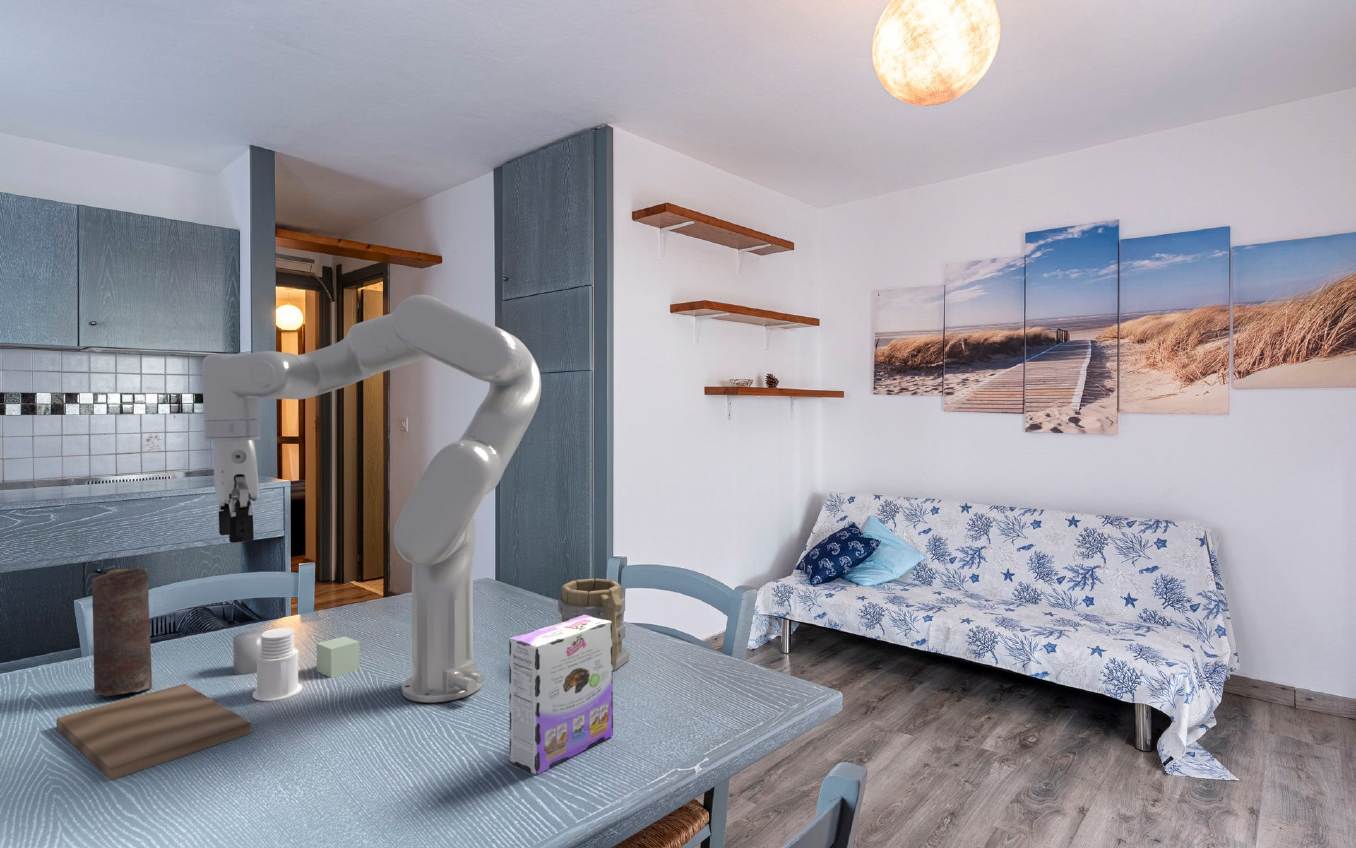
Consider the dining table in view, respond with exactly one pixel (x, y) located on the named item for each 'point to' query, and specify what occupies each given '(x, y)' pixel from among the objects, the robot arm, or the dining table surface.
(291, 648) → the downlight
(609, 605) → the tankard
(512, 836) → the dining table surface
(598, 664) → the candy box
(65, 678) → the dining table surface
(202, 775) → the dining table surface
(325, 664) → the sage block
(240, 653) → the grey rounded cylinder
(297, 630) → the dining table surface
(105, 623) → the brown textured cylinder
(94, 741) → the walnut board
